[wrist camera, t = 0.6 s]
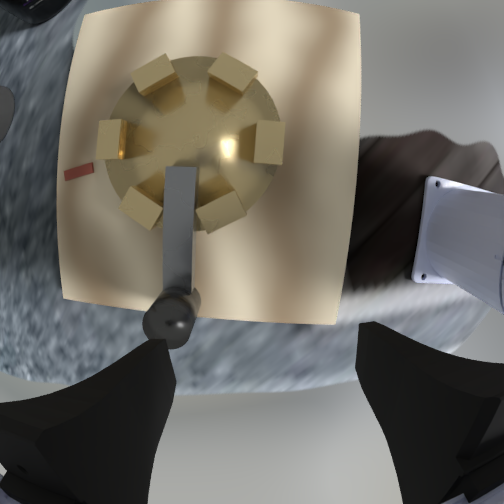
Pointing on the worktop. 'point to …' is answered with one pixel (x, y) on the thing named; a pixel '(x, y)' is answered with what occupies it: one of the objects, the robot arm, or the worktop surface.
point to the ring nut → (189, 165)
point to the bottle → (5, 110)
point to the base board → (273, 199)
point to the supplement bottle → (33, 9)
